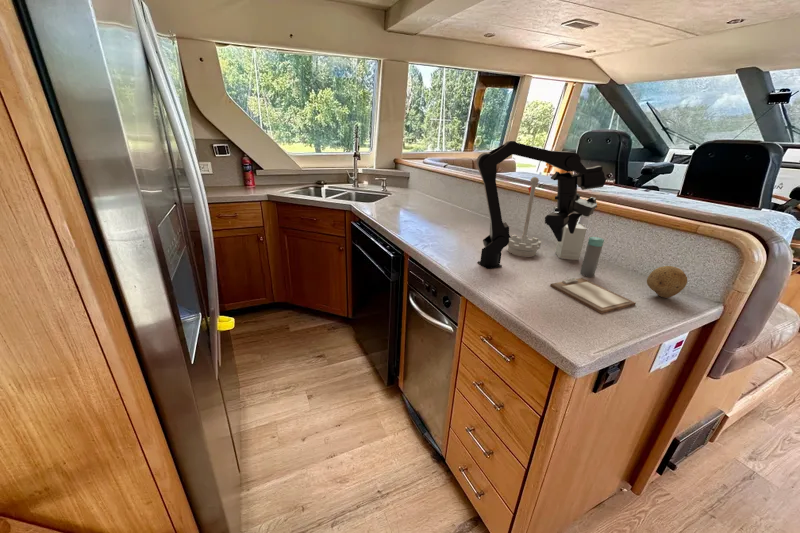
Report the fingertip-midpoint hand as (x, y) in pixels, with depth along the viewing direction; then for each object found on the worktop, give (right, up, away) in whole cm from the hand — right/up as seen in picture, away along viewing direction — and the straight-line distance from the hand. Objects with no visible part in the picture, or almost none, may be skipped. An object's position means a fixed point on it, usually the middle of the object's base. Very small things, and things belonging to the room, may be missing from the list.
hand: (565, 237), depth 112 cm
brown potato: (+22, -19, -13) cm, 32 cm away
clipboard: (+1, -19, -13) cm, 23 cm away
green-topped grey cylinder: (+8, -13, +2) cm, 15 cm away
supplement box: (+10, -6, +18) cm, 22 cm away
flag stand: (-7, -4, +22) cm, 23 cm away
